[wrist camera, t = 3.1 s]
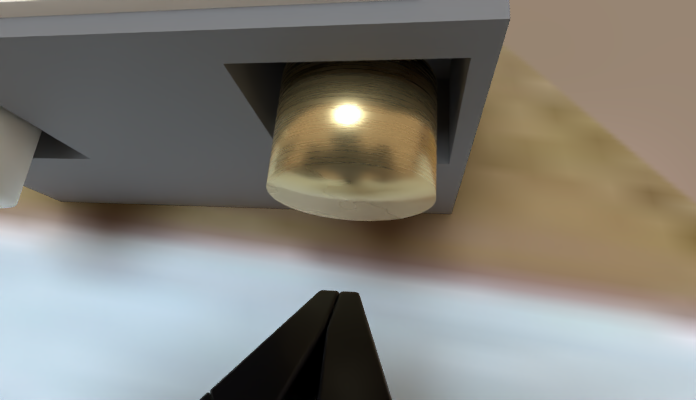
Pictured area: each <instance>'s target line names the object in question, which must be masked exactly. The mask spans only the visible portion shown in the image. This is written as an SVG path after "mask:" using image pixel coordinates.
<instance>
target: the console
mask: <svg viewBox="0 0 696 400" xmlns="http://www.w3.org/2000/svg"><path fill="white" fill-rule="evenodd" d="M509 21H510V5H509V0H0V106H2V107H3V108H5V109H7V110H8V111H10V112H12V113H13V114H15V115H17V116H19V117H20V118H22V119H24V120H25V121H27V122H29V123H30V124H32V125H34V126H35V127H37V128H39V129H41V130H42V132H41V135H40V138H39V141H38V144H37V147H36V150H35V153H34V156H33V159H32V161H31V164H30V167H29V170H28V173H27V176H26V179H25V182H24V185H23V186H25V187H28V188H30V189H32V190H35V191H37V192H40V193H42V194H44V195H47V196H49V197H51V198H54V199H56V200H59V201H61V202H91V203H123V204H154V205H186V206H217V207H249V208H280V209H293V208H290V207H288V206H286V205H284V204H282V203H280V202H278V201H277V200H275V199H274V198H273V197H272V196H271V195H270V194H269V193H268V191H267V188H266V183H267V177H268V170H269V163H270V156H271V149H272V142H273V136H274V129H275V122H276V115H277V108H278V102H279V95H280V88H281V81H282V74H283V70H284V67H285V65H286V63H287V62H317V61H360V60H402V59H424V60H425V61H426V62H427V63H428V64H429V65H430V67H431V68H432V69H433V71H434V73H435V75H436V79H437V165H436V201H435V204H434V205H433V206H432V207H431V208H430V209H428V210H426V211H424V212H422V213H437V214H452V210H453V207H454V204H455V200H456V197H457V194H458V190H459V187H460V184H461V180H462V177H463V174H464V171H465V167H466V164H467V161H468V157H469V154H470V151H471V147H472V144H473V141H474V137H475V134H476V131H477V127H478V124H479V121H480V117H481V114H482V111H483V107H484V104H485V101H486V98H487V94H488V91H489V88H490V84H491V81H492V78H493V74H494V71H495V68H496V64H497V61H498V58H499V54H500V51H501V48H502V44H503V41H504V38H505V34H506V31H507V27H508V25H509Z"/></svg>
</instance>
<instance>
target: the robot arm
mask: <svg viewBox="0 0 696 400" xmlns="http://www.w3.org/2000/svg"><path fill="white" fill-rule="evenodd" d="M200 400H392V398H391V395H390V392H389V389H388V385H387V382H386V379H385V376H384V372H383V369H382V366H381V363H380V360H379V356H378V353H377V350H376V347H375V344H374V340H373V337H372V334H371V331H370V328H369V324H368V321H367V318H366V315H365V312H364V308H363V305H362V302H361V299H360V296H359V294H358V293H357V292H341V293H340V294H339V292H337V291H327V290H321V291H319V292H318V293H317V294H316V295H315V296H314V297H313V298H311V299H310V300H309V301H308V302H307V303H306V304H305V305H304V306H303V307H301V308H300V309H299V310H298V311H297V312H296V313H295V314H294V315H293V316H292V317H290V318H289V319H288V320H287V321H286V322H285V323H284V324H283V325H282V326H281V327H279V328H278V329H277V330H276V331H275V332H274V333H273V334H272V335H271V336H269V337H268V338H267V339H266V340H265V341H264V342H263V343H262V344H261V345H260V346H258V347H257V348H256V349H255V350H254V351H253V352H252V353H251V354H250V355H248V356H247V357H246V358H245V359H244V360H243V361H242V362H241V363H240V364H239V365H237V366H236V367H235V368H234V369H233V370H232V371H231V372H230V373H229V374H228V375H226V376H225V377H224V378H223V379H222V380H221V381H220V382H219V383H218V384H216V385H215V386H214V387H213V388H212V389H211V390H210V393H206V394H205V395H204V396H203V397H202V398H201V399H200Z"/></svg>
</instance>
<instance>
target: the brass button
mask: <svg viewBox="0 0 696 400" xmlns="http://www.w3.org/2000/svg"><path fill="white" fill-rule="evenodd" d="M436 165H437V79H436V75H435V73H434V71H433V69H432V68H431V67H430V65H429V64H428V63H427V62H426V61H425V60H424V59H402V60H360V61H317V62H287V63H286V65H285V67H284V70H283V74H282V81H281V88H280V95H279V102H278V108H277V115H276V122H275V129H274V136H273V142H272V149H271V156H270V163H269V170H268V177H267V183H266V188H267V191H268V193H269V194H270V195H271V196H272V197H273V198H274V199H275V200H277V201H278V202H280V203H282V204H284V205H286V206H288V207H290V208H293V209H296V210H298V211H302V212H305V213H309V214H313V215H317V216H322V217H327V218H334V219H342V220H355V221H382V220H394V219H401V218H406V217H410V216H414V215H417V214H420V213H422V212H424V211H426V210H428V209H430V208H431V207H432V206H433V205H434V204H435V201H436Z"/></svg>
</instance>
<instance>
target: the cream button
mask: <svg viewBox="0 0 696 400" xmlns="http://www.w3.org/2000/svg"><path fill="white" fill-rule="evenodd" d="M41 132H42V130H41V129H39V128H37V127H35V126H34V125H32V124H30V123H29V122H27V121H25V120H24V119H22V118H20V117H19V116H17V115H15V114H13V113H12V112H10V111H8V110H7V109H5V108H3V107H2V106H0V208H10V207H14V206H16V205H17V203H18V200H19V197H20V194H21V191H22V188H23V185H24V182H25V179H26V176H27V173H28V170H29V167H30V164H31V161H32V159H33V156H34V153H35V150H36V147H37V144H38V141H39V138H40V135H41Z"/></svg>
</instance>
